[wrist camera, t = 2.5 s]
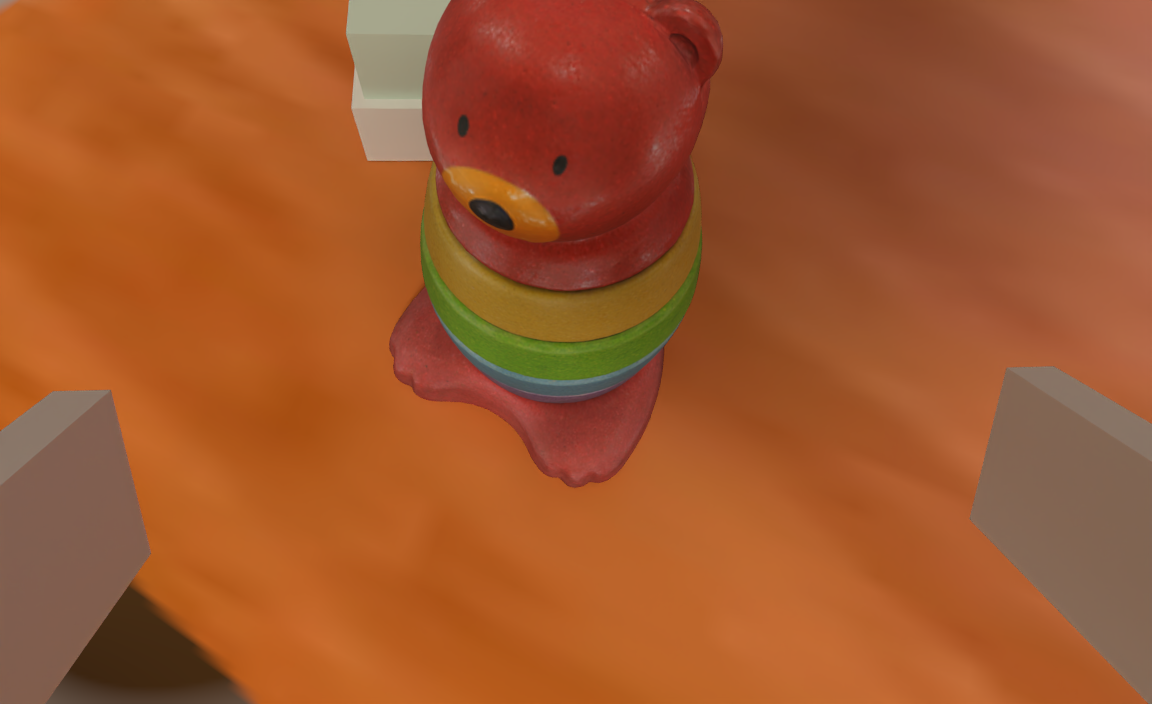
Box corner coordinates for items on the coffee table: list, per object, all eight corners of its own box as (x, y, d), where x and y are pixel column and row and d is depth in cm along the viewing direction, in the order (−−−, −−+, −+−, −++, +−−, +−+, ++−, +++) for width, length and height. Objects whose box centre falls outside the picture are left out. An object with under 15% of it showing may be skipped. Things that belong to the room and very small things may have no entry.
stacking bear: (370, 368, 31) (192, 22, 14) (507, 193, 34) (491, -242, 18) (598, 509, 29) (695, 303, 13) (717, 310, 33) (912, -52, 16)
